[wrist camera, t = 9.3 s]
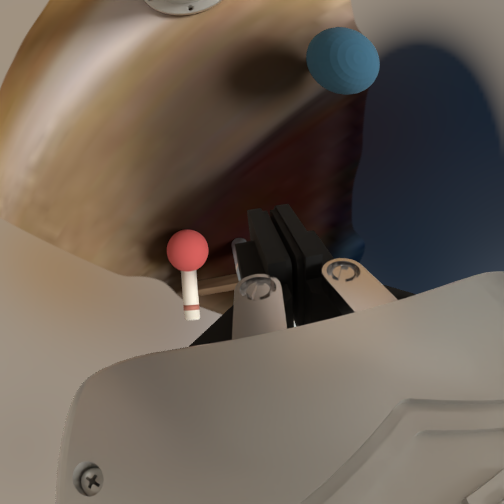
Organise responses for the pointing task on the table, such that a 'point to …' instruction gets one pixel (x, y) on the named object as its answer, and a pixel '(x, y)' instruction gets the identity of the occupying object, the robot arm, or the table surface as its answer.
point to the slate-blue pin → (235, 241)
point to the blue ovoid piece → (342, 60)
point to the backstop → (217, 284)
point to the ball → (187, 250)
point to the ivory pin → (190, 295)
